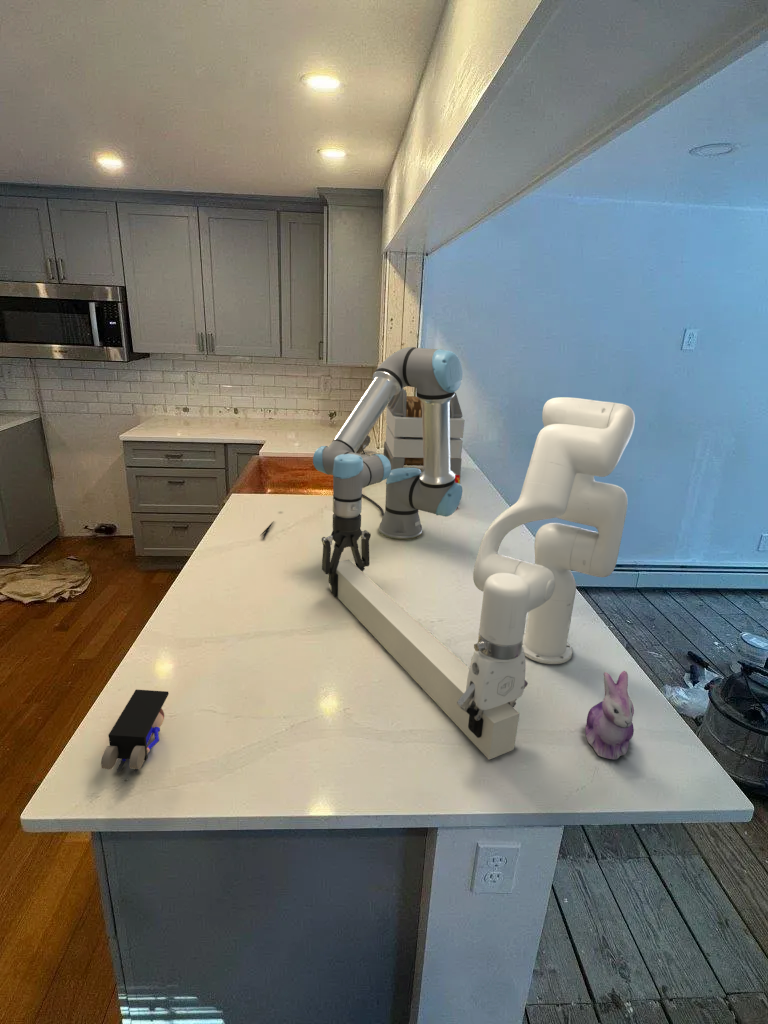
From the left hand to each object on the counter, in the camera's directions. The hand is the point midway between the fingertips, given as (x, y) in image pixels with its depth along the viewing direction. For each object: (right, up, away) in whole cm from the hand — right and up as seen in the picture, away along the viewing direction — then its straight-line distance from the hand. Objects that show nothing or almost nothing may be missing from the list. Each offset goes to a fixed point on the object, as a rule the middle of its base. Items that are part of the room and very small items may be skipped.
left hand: (345, 592), depth 157 cm
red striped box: (+35, +28, +84) cm, 95 cm away
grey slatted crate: (+28, +41, +118) cm, 128 cm away
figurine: (+53, -21, -51) cm, 76 cm away
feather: (-29, +17, +45) cm, 57 cm away
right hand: (+30, -17, -52) cm, 63 cm away
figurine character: (-32, -20, -57) cm, 68 cm away
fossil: (-3, +53, +149) cm, 158 cm away
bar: (+15, -10, -25) cm, 31 cm away
